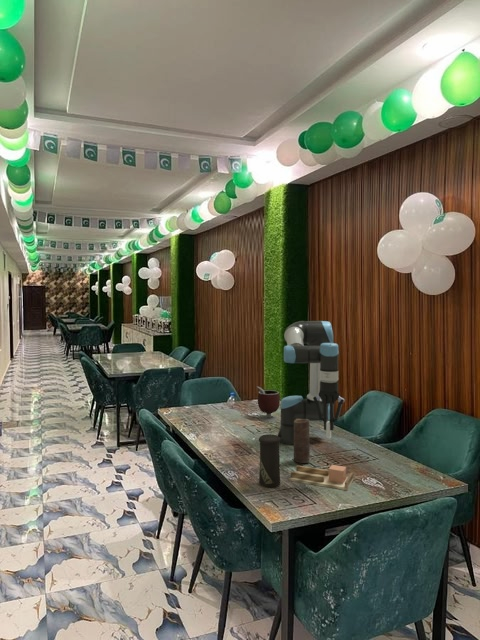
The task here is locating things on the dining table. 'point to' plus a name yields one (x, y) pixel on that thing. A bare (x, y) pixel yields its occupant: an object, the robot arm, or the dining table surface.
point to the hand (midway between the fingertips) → (328, 437)
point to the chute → (318, 477)
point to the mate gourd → (268, 404)
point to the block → (337, 473)
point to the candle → (301, 441)
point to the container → (269, 461)
